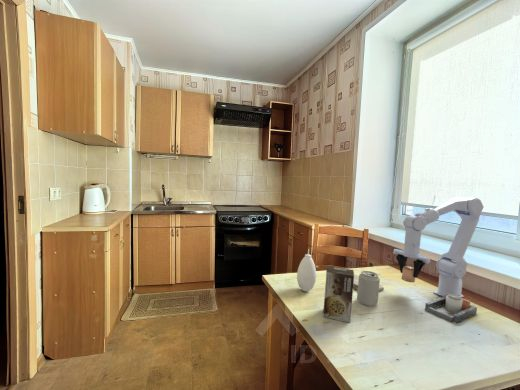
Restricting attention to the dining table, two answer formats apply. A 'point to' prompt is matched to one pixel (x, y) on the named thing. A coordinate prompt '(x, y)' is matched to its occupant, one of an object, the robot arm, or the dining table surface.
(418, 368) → the dining table surface
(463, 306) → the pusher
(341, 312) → the coffee box
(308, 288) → the sauce bottle
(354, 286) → the washcloth
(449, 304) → the grey jar
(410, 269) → the terracotta jar
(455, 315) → the grey tray
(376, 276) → the can
